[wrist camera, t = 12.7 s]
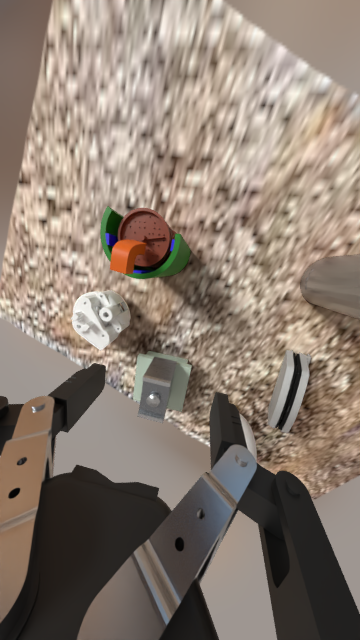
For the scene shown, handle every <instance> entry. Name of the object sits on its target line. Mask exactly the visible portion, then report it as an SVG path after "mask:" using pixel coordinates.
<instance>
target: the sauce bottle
mask: <svg viewBox="0 0 360 640" xmlns="http://www.w3.org/2000/svg"><path fill="white" fill-rule="evenodd" d="M239 414H240V413H239ZM240 420H241V423H242V427H243V431H244V435H245V440H246V444H247V448H248V450H249V451H250V452H251V453H252V455H253V456H254V458H255V460H256V461H257V449H256V442H255V438H254V434H253V431H252V429H251V427H250V425H249V423H248V421H247V420H246V419H245V418H244V417H243V416H242V415H241V414H240Z"/></svg>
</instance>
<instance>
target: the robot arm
mask: <svg viewBox="0 0 360 640" xmlns="http://www.w3.org/2000/svg"><path fill="white" fill-rule="evenodd" d="M300 289H301V293H302V295H303V297H304V298H305V299H306V300H307V301H308V302H310V303H312V304H314V305H317V306H321V307H324V308H326V309H329V310H332V311H335V312H339V313H342V314H345V315H348V316H351V317H354V318H357V319H360V254H357V255H346V256H335V257H327V258H322V259H320V260H318V261H316V262H315V263H313V264H312V265H311V266H309V267H308V268H307V270H306V271H305V272H304V274H303V276H302V279H301V283H300ZM105 372H106V367H105V365H101V364H96V363H94V364H92V365H91V366H90V367H89V368H88V369H82V370H80V371H78V372H76V373H75V374H74V375H72V376H71V378H69V379H68V380H66V382H64V383H63V384H61V385H60V386H59V387H58V388H56V389H55V390H54V391H53V392H51V393H50V394H49V395H48V396H40V397H36V398H33V399H31V400H30V401H28V402H26V403H25V404H8V399H7V398H6V397H3V396H0V456H1V457H0V640H219V638H218V636H217V632H216V630H215V627H214V624H213V621H212V618H211V615H210V613H209V610H208V608H207V604H206V601H205V598H204V596H203V593H202V590H201V587H200V583H201V581H202V579H203V577H204V575H205V573H206V571H207V570H208V568H209V566H210V564H211V562H212V560H213V558H214V556H215V554H216V552H217V550H218V548H219V546H220V543H221V542H222V540H223V538H224V536H225V534H226V533H227V531H228V529H229V527H230V525H231V523H232V521H233V519H234V517H235V515H236V514H237V512H238V510H239V511H241V512H242V513H244V514H245V515H247V516H248V517H249V518H251V519H252V520H253V521H255V522H256V523H258V526H259V532H260V538H261V544H262V550H263V556H264V562H265V568H266V574H267V580H268V586H269V592H270V598H271V604H272V610H273V616H274V622H275V628H276V634H277V640H360V614H359V611H358V609H357V606H356V604H355V602H354V599H353V597H352V595H351V592H350V590H349V587H348V585H347V583H346V580H345V578H344V575H343V573H342V571H341V568H340V566H339V563H338V561H337V559H336V557H335V554H334V551H333V549H332V547H331V544H330V542H329V540H328V537H327V535H326V532H325V530H324V528H323V525H322V523H321V521H320V518H319V516H318V513H317V511H316V508H315V506H314V504H313V501H312V499H311V496H310V494H309V492H308V490H307V488H306V487H305V485H304V484H303V483H302V482H301V481H300V480H299V479H298V478H297V477H296V476H294V475H293V474H291V473H289V472H287V471H279V472H278V473H277V474H276V475H275V474H273V473H271V472H270V471H268V470H266V469H265V468H263V467H261V466H260V465H259V464H258V463H257V462H256V460H255V458H254V456H253V455H252V453H251V452H250V451H249V450H248V448H247V444H246V440H245V435H244V431H243V427H242V423H241V420H240V414H239V411H238V409H237V408H236V406H235V405H234V404H231V403H229V401H228V395H227V394H223V393H219V392H216V393H215V396H214V400H213V403H212V407H211V411H210V449H211V471H210V472H209V473H207V472H205V473H204V474H203V475H202V476H201V477H200V478H199V480H198V481H197V482H196V483H195V484H194V485H193V487H192V488H191V489H190V490H189V491H188V493H187V494H186V495H185V496H184V497H183V499H182V500H181V501H180V502H179V503H178V504H177V506H176V507H175V508H174V509H173V510H172V511H171V510H170V508H169V507H168V506H167V504H166V503H165V502H164V501H163V500H162V499H160V498H159V497H157V495H158V491H159V488H157V487H153V486H149V485H146V484H142V483H139V482H132V483H131V482H130V483H114V482H112V481H110V480H109V479H108V478H106V477H105V476H104V475H102V474H101V473H99V472H98V471H97V470H94V469H90V468H87V467H83V466H79V465H76V467H75V468H74V470H73V471H72V473H64V474H60V475H57V476H54V477H53V469H54V458H55V447H56V435H57V434H58V433H59V432H60V431H64V432H69V430H70V429H71V428H72V427H73V426H74V424H75V423H76V422H77V421H78V420H79V418H80V417H81V416H82V415H83V414H84V412H85V411H86V410H87V409H88V408H89V406H90V405H91V404H92V403H93V402H94V401H95V399H96V398H97V397H98V396H99V395H100V393H101V392H102V390H103V388H104V385H105Z"/></svg>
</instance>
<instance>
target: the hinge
mask: <svg viewBox="0 0 360 640" xmlns="http://www.w3.org/2000/svg"><path fill="white" fill-rule="evenodd" d="M310 360H311V356H310V354H307V355H305V354H302V353H300V352H299V354H297V355H296V358H295V353H293V351H291V350H286V353H285V356H284V359H283V362H282V366H281V369H280V372H279V375H278V378H277V382H276V385H275V388H274V391H273V394H272V398H271V401H270V404H269V407H268V425H270V426H271V427H273V428H277V427H278V428H279V429H280V431H281V432H285V433H288V432H289V430H290V429H291V427H292V425H293V423H294V421H295V419H296V417H297V414H298V411H299V409H300V406H301V403H302V400H303V397H304V393H305V390H306V386H307V382H308V378H309V368H308V366H309V363H310Z"/></svg>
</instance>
